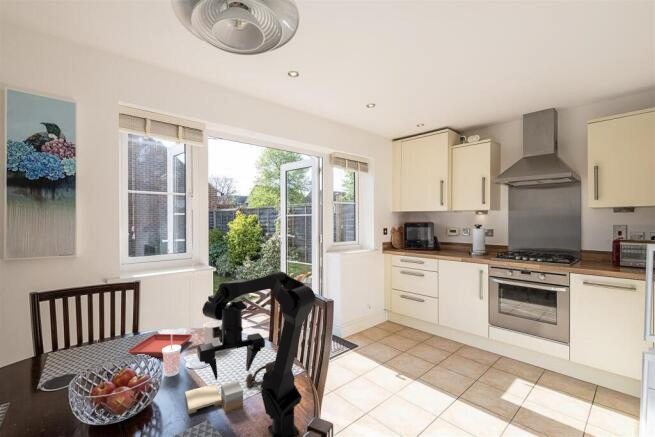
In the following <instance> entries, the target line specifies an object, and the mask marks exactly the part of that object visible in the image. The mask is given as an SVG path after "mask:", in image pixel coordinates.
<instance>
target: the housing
mask: <svg viewBox="0 0 655 437" xmlns="http://www.w3.org/2000/svg"><path fill="white" fill-rule="evenodd" d="M220 388H221V389H220V396H221V399H222V402H221V404H220V405H221V406H222V409H223V411H224V414H225V415H228V414H231V413H234V412H237V411H240V410H243V409H244V390H243V387H242V385H241V384H240V381H239V380H234V381H230V382H227V383H224V384H221V385H220Z"/></svg>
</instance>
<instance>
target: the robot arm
mask: <svg viewBox="0 0 655 437" xmlns="http://www.w3.org/2000/svg"><path fill="white" fill-rule="evenodd" d="M269 289H270V290H271V291H272V294H273V297H274V299H275V300H276V302H278V304H280V305H281V307H280V308H281V315H282V317H283V319H284V320H283V325H282V329H281V333H280V334H281V335H280V338H279V343H278V345H277V351H276V352H277V353H276V354H275V355H276V356H275V359H274V361H275V364H274V368H272V369H271V370H269V371H268V372H266V371H265V373H263V376H262V381H261V382H262V385H259V387H260V388H261V398H262V402H263V408H264V411H265V414H266V415H267V416H269V419H270V420H272V424H271V425H268V427H267V430H268V432H269V434H270V435H271V437H296V436H299V435H300V430H299V429H298V427H297V426H296V425H295V408H296V406H297V405H299V404H300V403H301V400H302V398H303V396H302V395H301V393H300V392H299V389H298V387H296V385H295V376H294V372H293V366H294V362H295V358H296V354H297V350H298V346H299V341H300V338H301V337H300V336H301V333H302V329H303V326H304V325H303V324H304V322H305V321H306V319H307V318H308V316H309V315H310V314H311V312H312V310H313V307H314V304H315V303H316V300H317V299H316V294H315V293H314V290H313V289H312V287H310V286H308V285H305V284H304V283H303V282H302V281H300V280H298V279H295V278H293V277H292V276H290V275H288V274H287V273H286V272H285V271H276V272H271V273H269V274H268V275H264V276H260V277H256V278H253V279H246V278H243V279H242V278H238V279H234V280H230V281H224V282H221V283H220V284H219V285H218V288H217V291H216V292H215V294H213V295H208V297H207V300H206V301H205V303H204V304H203V306H202V311H201V312H202V314H203V315H204V317H207V318H210V319H213V320H215V321H221V322H222V326H221V329H220V327H214V328H212V335H213V338H218V337H219V340H220V343H221V345H218V346H213V345H212V343H208V344H205V343H204V344H200V345H199V346H198V347H197V348H196V349H197V350H196V351H197V352H196V354H197V358H198V360H199V362H200V363H204V364H205V365H206V364H207V365H208V364H209V366H210V368H211V371H212V373H213V377H214V379H215V381H218V376H219V375H218V366H217V359H216V354H219V353H222V352H226V351H227V352H228V351H231V350H232V351H233V350H235V349H237V350H238V349H241V348H245V347H246V361H245V368H246V372H249V371H250V370H251V369H250V368H251V367H252V364H253V362H254V360H255V358H256V357H257V354H258V352H259V353H260V352H261V351H262V349H264V348H265V347H266V339H265V338H264V337H263V335H261V334H260V333H259V332H256V333H252V334H247V337H246V339H243V331H244V330H243V329H244V328H243V311H244V310H246V309H247V308H248V306H247V304H245V303H244V302H243V300H239V299H242V298H244V297H246V296H248V295H250V294H251V293H255V292H260V291H264V290H265V291H266V290H269ZM235 300H238V301H236V302H235Z"/></svg>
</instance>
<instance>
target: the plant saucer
mask: <svg viewBox="0 0 655 437" xmlns="http://www.w3.org/2000/svg"><path fill="white" fill-rule="evenodd" d="M171 334H172V345H180V346H181V348H182V347H184V346H185V345H186V344H188V342H189V341H190V340H191V338H192V337H193V334H183V333H181V334H180V333H179V334H177V333H175V334H174V333H154V334H152V335H150V336H149V337H147V338H145V339H144V340H142V341H141V342H139V343H138V344H136V345H133V347H130V349H128V350H127V353H129V354H130V355H131V356H133V355H137V354H145V355H149V356H154V357H153V358H163V353H162V349H163V348H165V347H167V346H170V345H171Z"/></svg>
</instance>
